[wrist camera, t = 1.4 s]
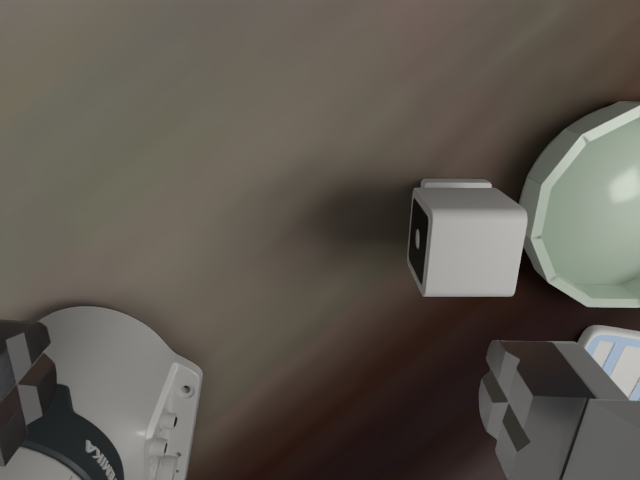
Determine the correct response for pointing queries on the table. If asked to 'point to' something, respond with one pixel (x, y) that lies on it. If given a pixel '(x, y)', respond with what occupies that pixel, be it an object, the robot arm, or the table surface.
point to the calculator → (616, 355)
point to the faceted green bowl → (589, 208)
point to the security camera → (465, 239)
